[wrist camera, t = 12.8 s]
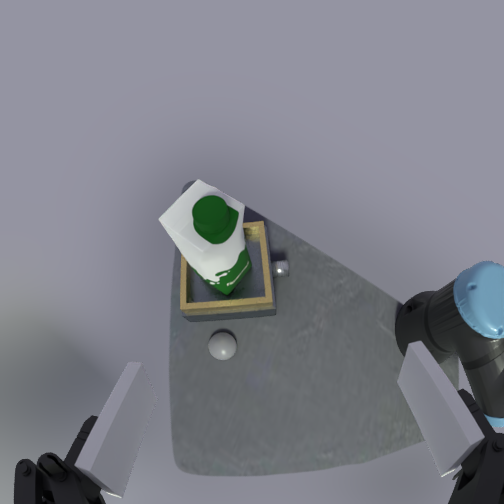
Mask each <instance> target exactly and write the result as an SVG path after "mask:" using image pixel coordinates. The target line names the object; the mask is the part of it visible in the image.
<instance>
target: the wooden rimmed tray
mask: <svg viewBox="0 0 504 504" xmlns="http://www.w3.org/2000/svg"><path fill="white" fill-rule="evenodd" d="M242 226H243V231H244V236H245V240H246V245H247V249H248V253H249V256H250V259H251V263H252V267H251V268H250V269H249V270H248V272H247V273H246V274H245V275H244V277H243V278H242V279H241V280H240V281H239V283H238V284H237V285H236V286H235V288H234V289H233V290H232V291H231V293H230V294H229V295H228V296H227V295H225V294H224V293H222V292H221V291H219V290H218V289H216V288H215V287H213V286H212V285H211V284H209V283H208V282H206V281H205V280H204V279H202V278H201V277H200V276H198V275H197V274H196V273H195V272H194V270H193V269H192V268H191V266H190V265H189V263H188V262H187V260H186V259H185V257H184V256H183V255H182V254H181V291H180V310H182V316H183V317H184V318H186V319H187V320H188V321H190V322H200V321H216V320H229V319H242V318H253V317H264V316H274V315H276V303H275V294H274V285H273V278H277V277H286V276H289V266H288V261H287V260H282V261H273V262H271V259H270V251H269V242H268V234H267V226H264V221H259V222H249V223H243V224H242Z"/></svg>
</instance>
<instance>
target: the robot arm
mask: <svg viewBox="0 0 504 504" xmlns="http://www.w3.org/2000/svg"><path fill="white" fill-rule="evenodd" d="M396 340H397V344H398V347H399V349H400V351H401V353H402V354H403V356H404V357H405V358H404V362H403V365H402V368H401V371H400V374H399V378H398V380H397V383H398V385H399V387H400V389H401V391H402V393H403V395H404V397H405V399H406V401H407V403H408V405H409V407H410V409H411V411H412V413H413V415H414V417H415V419H416V421H417V424H418V426H419V428H420V430H421V432H422V434H423V437H424V439H425V441H426V443H427V446H428V448H429V450H430V452H431V455H432V457H433V460H434V462H435V464H436V467H437V469H438V471H439V474H440V476H441V477H442V476H444V475H446V474H448V473H450V472H452V471H454V470H455V469H456V468H457V467H458V466H459V465H460V464H461V466H462V469H461V470H460V471H459V472H458V473H457V474H456V475H455V476H454V477H453V480H455V479H456V478H457V477H458V479H457V482H456V485H455V487H454V490H453V493H452V495H451V498H450V500H449V503H448V504H504V434H502V433H496V432H495V431H494V430H493V428H492V426H493V427H504V267H503V266H502V265H500V264H498V263H494V262H492V261H483V262H480V263H477V264H476V265H474V266H472V267H471V268H468V269H466V270H464V271H463V272H462V273H460V274H459V276H458V277H457V278H456V279H454V280H453V281H452V282H450V283H449V284H447V285H446V286H444V287H443V288H441V289H440V290H438V291H426V292H422V293H419V294H417V295H415V296H414V297H412V298H411V299H409V300H408V301H407V302H406V303H405V304H404V305H403V307H402V308H401V310H400V312H399V314H398V317H397V321H396ZM455 351H457V354H458V356H459V358H460V361H461V363H462V365H463V368H464V370H465V373H466V376H467V378H468V381H469V384H470V386H471V389H472V392H473V395H474V398H475V400H474V398H473V397H472V395H471V394H470V393H468V392H467V391H466V390H464V389H461V390H459V391H456V389H455V388H454V386H453V385H452V383H451V382H450V380H449V379H448V378H447V376H446V375H445V373H444V372H443V370H442V369H441V367H440V366H439V365H438V364H440V363H442V362H444V361H445V360H446V359H448V358H449V357H450V356H451V355H452V354H453V353H454V352H455ZM157 399H158V398H157V396H156V394H155V392H154V390H153V388H152V385H151V383H150V381H149V378H148V376H147V374H146V371H145V369H144V367H143V364H142V363H138V362H129V363H128V364H127V366H126V368H125V370H124V372H123V373H122V375H121V377H120V378H119V380H118V382H117V384H116V386H115V387H114V389H113V391H112V393H111V395H110V397H109V398H108V400H107V402H106V404H105V406H104V408H103V409H102V411H101V413H100V415H99V417H97V416H91V417H90V418H88V419H87V420H86V421H85V422H84V424H83V426H82V428H81V430H80V432H79V433H78V435H77V438H76V439H75V441H74V442H73V444H72V446H71V448H70V450H69V452H68V454H67V456H66V458H65V460H64V461H62V460H61V459H60V458H59V457H58V456H57V455H56V454H53V453H45V454H43V455H41V457H40V458H39V459H38V461H37V465H35V464H34V463H33V462H32V461H31V460H29V459H22V460H20V461H19V462H18V463H17V465H16V469H15V483H14V504H106V503H105V501H104V499H103V497H102V495H101V494H100V491H101V489H103V490H104V491H105V492H106V493H108V494H110V495H113V496H117V497H120V498H123V495H124V492H125V489H126V486H127V482H128V480H129V477H130V474H131V471H132V468H133V465H134V462H135V460H136V457H137V454H138V451H139V448H140V445H141V443H142V440H143V437H144V434H145V431H146V429H147V426H148V423H149V420H150V418H151V415H152V413H153V410H154V407H155V405H156V402H157ZM42 496H43V499H42Z"/></svg>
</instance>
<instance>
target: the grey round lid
mask: <svg viewBox="0 0 504 504" xmlns="http://www.w3.org/2000/svg"><path fill="white" fill-rule="evenodd" d="M208 347H209V351H210V353H211V355H212V356H213V357H215V358H217V359H219V360H227V359H229V358H231V357H232V356H233V355H234V354H235V352H236V349H237V344H236V341H235V339H234V338H233V337H232V336H231V335H230V334H228V333H223V332H221V333H217V334H215V335H214V336H212V338H211V339H210V341H209V345H208Z"/></svg>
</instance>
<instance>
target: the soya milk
mask: <svg viewBox="0 0 504 504" xmlns="http://www.w3.org/2000/svg"><path fill="white" fill-rule="evenodd" d="M244 209H245V205H244V204H242V203H241V202H239V201H237V200H236V199H234V198H232V197H231V196H229V195H227V194H225V193H224V192H222V191H220V190H219V189H217V188H215V187H214V186H210V185H208V184H206V183H204V182H203V181H201V180H199V179H198V180H197V181H196V182H195V183H194V184H193V185H192V186H191V187H190V188H189V189H188V190H187V191H186V192H185V193H184V194H183V195H182V196H181V197H180V198H179V199H178V200H177V201H176V202H175V203H174V204H173V205H172V206H171V207H170V208H169V209H168V210H167V211H166V212H165V213H164V214H163V215H162V216H161V217H160V218H159V221H160V222H161V223H162V225H163V227H164V228H165V229H166V231H167V232H168V234H169V235H170V237H171V238H172V239H173V241H174V242H175V244H176V246H177V247H178V248H179V250H180V252H181V253H182V255H183V256H184V257H185V259H186V260H187V262H188V263H189V265H190V266H191V268H192V269H193V270H194V272H195V273H196V274H197V275H198V276H200V277H201V278H202V279H204V280H205V281H206V282H208V283H209V284H211V285H212V286H213V287H215V288H216V289H218V290H219V291H221V292H222V293H224V294H225V295H227V296H228V295H229V294H230V293H231V291H232V290H233V289H234V288H235V286H236V285H237V284H238V283H239V281H240V280H241V279H242V278H243V277H244V275H245V274H246V273H247V272H248V270H249V269H250V268H251V267H252V263H251V259H250V256H249V253H248V249H247V245H246V240H245V236H244V231H243V226H242V224H243V216H244Z"/></svg>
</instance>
